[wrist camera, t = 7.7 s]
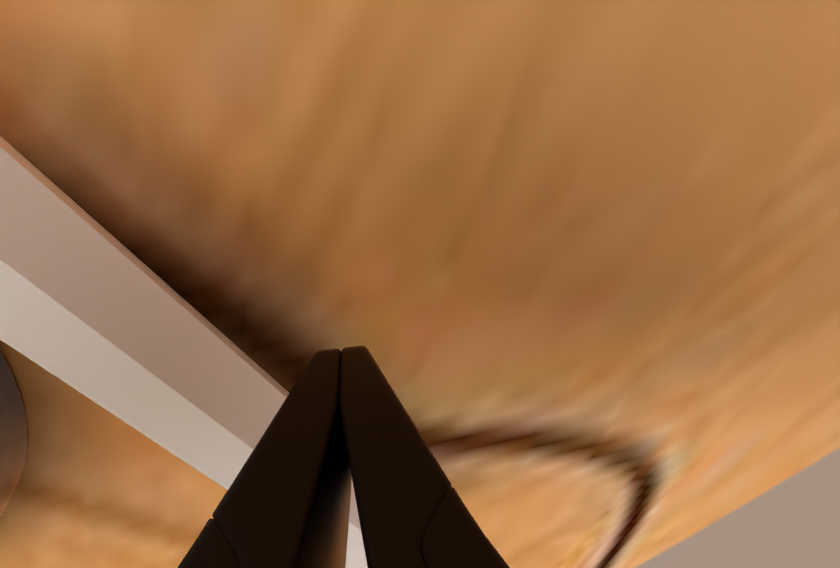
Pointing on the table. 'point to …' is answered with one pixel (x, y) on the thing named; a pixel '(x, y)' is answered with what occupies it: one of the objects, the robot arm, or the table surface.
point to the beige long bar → (127, 334)
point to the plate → (10, 434)
